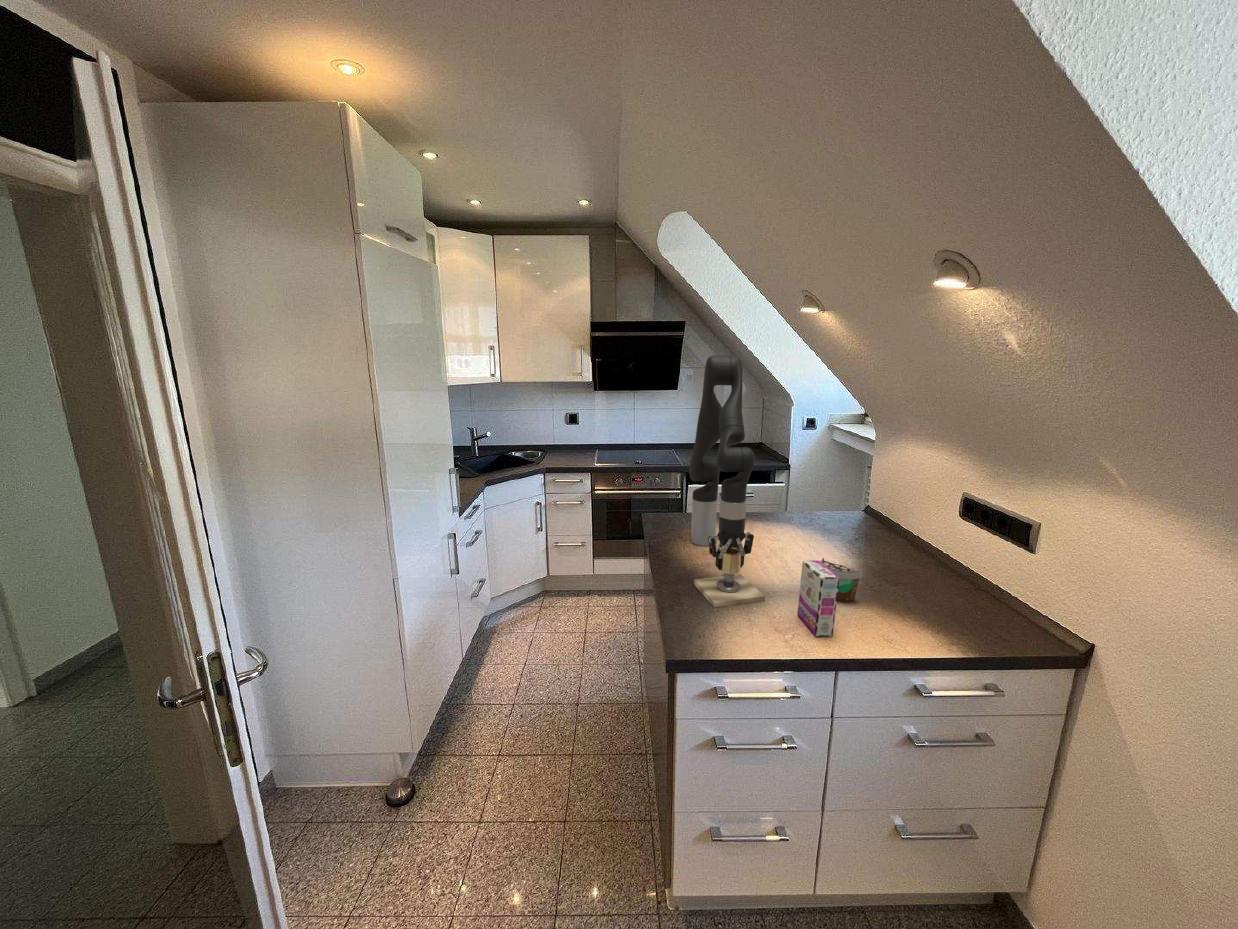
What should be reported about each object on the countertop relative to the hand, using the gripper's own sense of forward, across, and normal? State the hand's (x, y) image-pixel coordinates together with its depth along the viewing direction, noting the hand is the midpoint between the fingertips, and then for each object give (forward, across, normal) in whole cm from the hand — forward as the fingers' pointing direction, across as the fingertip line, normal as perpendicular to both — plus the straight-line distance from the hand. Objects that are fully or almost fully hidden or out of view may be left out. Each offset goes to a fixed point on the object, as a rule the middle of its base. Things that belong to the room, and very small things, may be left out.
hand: (729, 567), depth 145 cm
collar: (+1, 0, 0) cm, 1 cm away
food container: (+8, -29, +10) cm, 32 cm away
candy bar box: (+8, -14, +22) cm, 28 cm away
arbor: (+6, 0, 0) cm, 6 cm away
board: (+8, 0, 0) cm, 8 cm away
